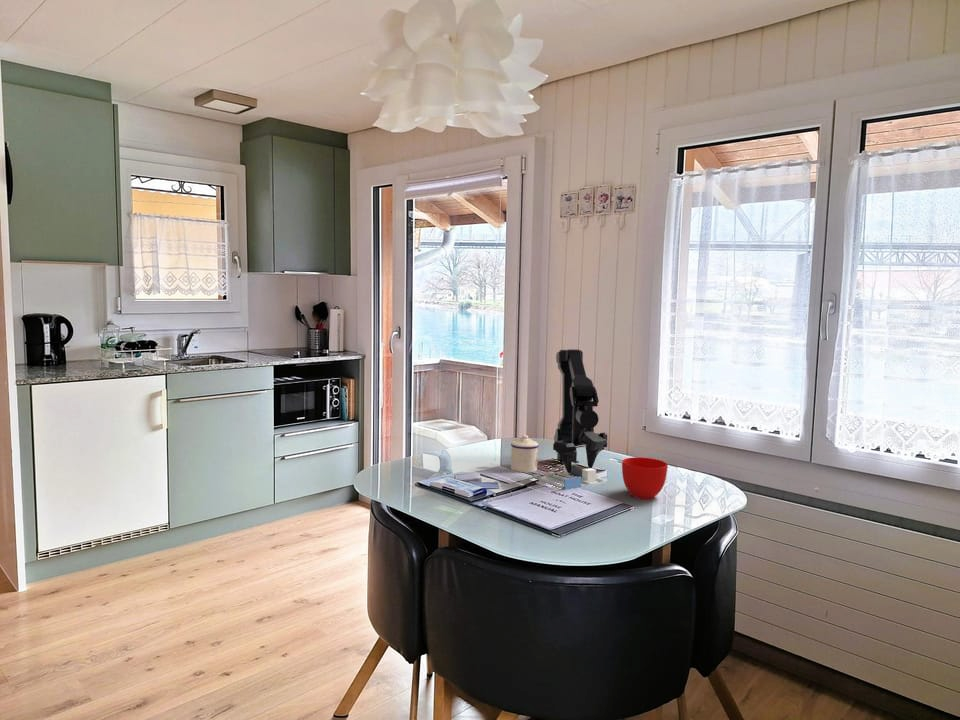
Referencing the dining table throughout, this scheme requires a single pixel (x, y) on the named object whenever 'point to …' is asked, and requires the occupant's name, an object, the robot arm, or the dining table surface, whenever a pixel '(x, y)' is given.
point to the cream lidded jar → (524, 455)
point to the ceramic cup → (644, 476)
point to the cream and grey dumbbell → (582, 472)
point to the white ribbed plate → (564, 481)
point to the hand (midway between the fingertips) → (579, 470)
